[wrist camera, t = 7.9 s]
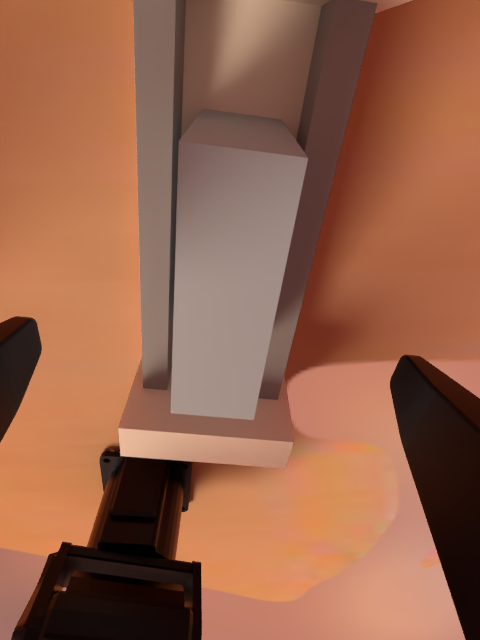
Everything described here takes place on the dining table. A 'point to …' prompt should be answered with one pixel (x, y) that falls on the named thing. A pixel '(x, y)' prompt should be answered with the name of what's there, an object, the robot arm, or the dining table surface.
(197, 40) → the track
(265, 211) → the grey rectangular block
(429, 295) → the dining table surface
